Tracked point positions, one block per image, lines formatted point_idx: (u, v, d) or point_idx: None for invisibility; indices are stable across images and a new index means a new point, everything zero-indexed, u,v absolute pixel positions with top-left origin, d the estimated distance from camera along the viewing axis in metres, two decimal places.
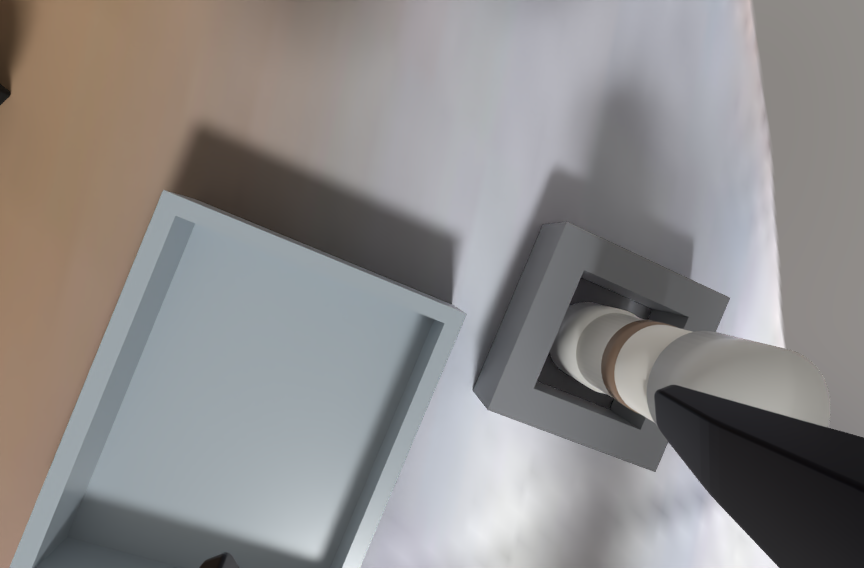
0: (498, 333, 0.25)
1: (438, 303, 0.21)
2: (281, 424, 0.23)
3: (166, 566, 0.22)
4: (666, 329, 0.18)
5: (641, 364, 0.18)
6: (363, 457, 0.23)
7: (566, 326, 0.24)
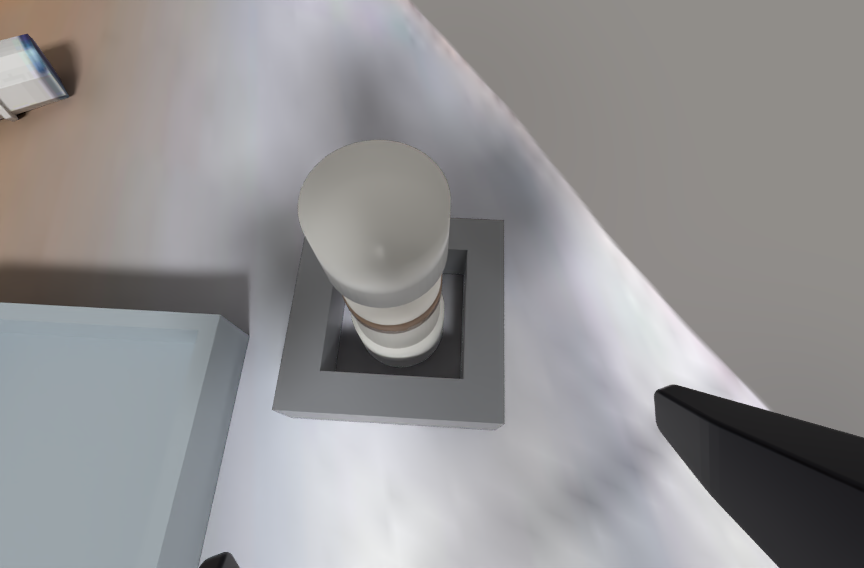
0: None
1: (190, 314, 0.21)
2: (63, 516, 0.20)
3: None
4: None
5: None
6: None
7: None
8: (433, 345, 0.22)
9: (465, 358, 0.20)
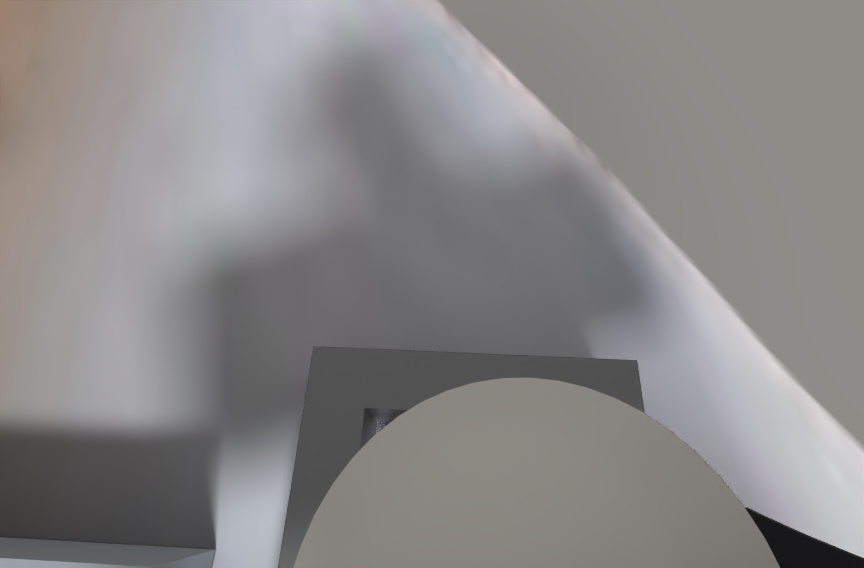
0: None
1: (98, 565, 0.11)
2: None
3: None
4: None
5: None
6: None
7: None
8: None
9: None
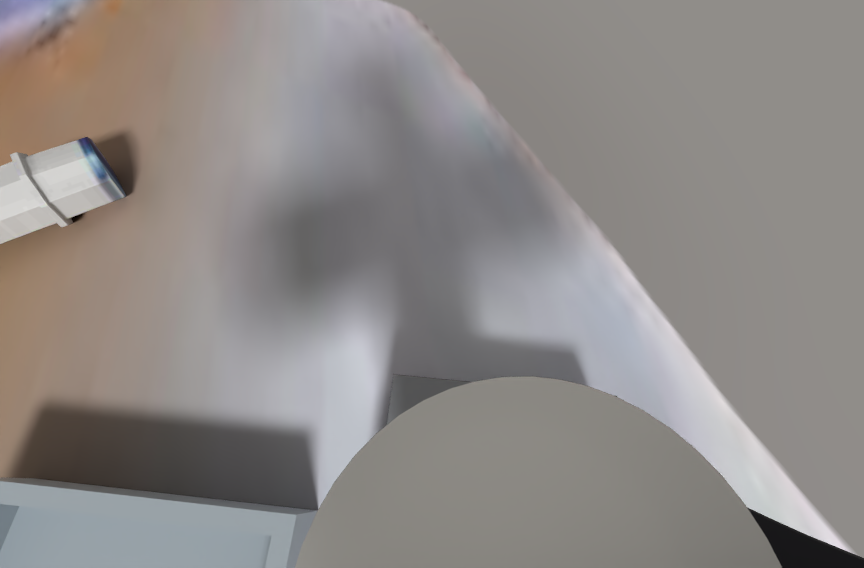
0: None
1: (261, 512, 0.18)
2: None
3: None
4: None
5: None
6: None
7: None
8: None
9: None
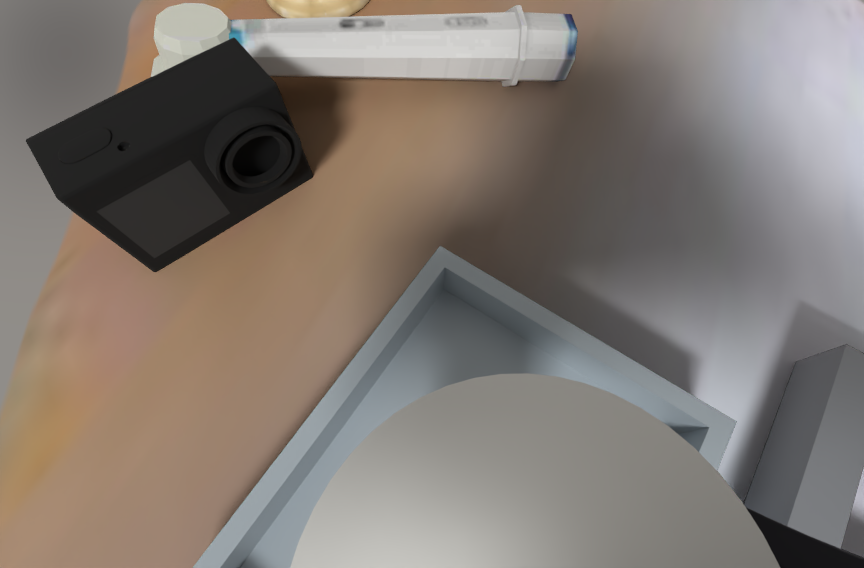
0: (755, 481, 0.20)
1: (700, 402, 0.18)
2: None
3: None
4: None
5: None
6: None
7: None
8: None
9: None
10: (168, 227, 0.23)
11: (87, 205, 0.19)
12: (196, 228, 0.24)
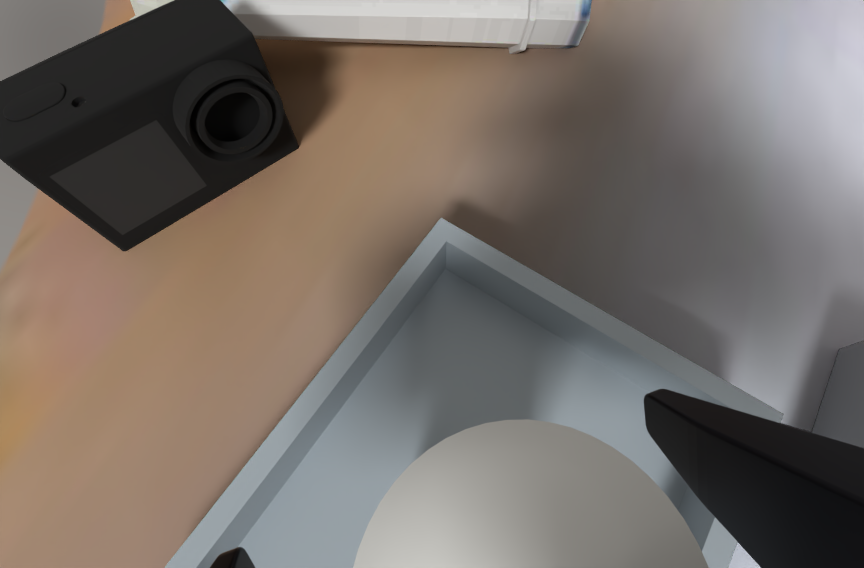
0: None
1: (740, 391, 0.16)
2: None
3: None
4: None
5: None
6: None
7: None
8: None
9: None
10: (136, 199, 0.21)
11: (37, 168, 0.17)
12: (169, 201, 0.22)
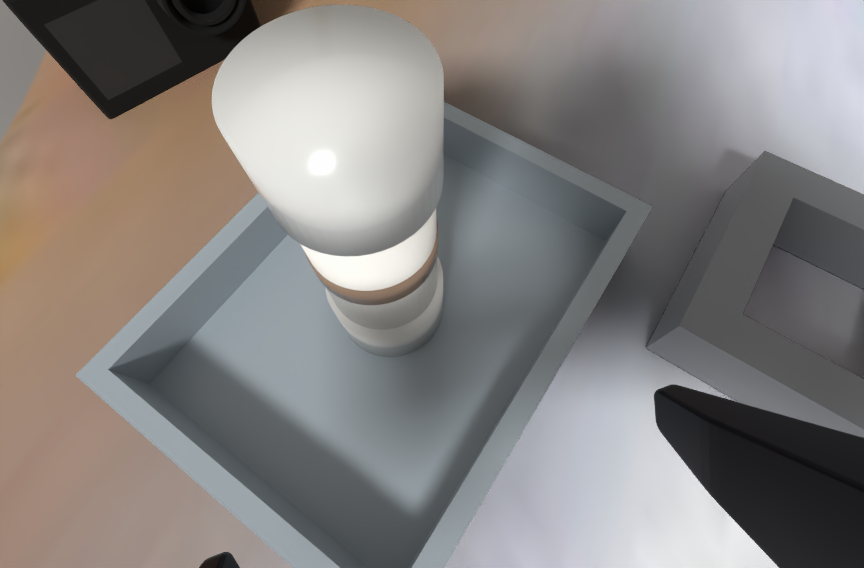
0: (679, 285, 0.21)
1: (620, 192, 0.19)
2: None
3: (231, 454, 0.17)
4: None
5: None
6: (501, 382, 0.18)
7: None
8: (431, 327, 0.18)
9: None
10: (119, 64, 0.24)
11: (33, 14, 0.20)
12: (148, 72, 0.25)
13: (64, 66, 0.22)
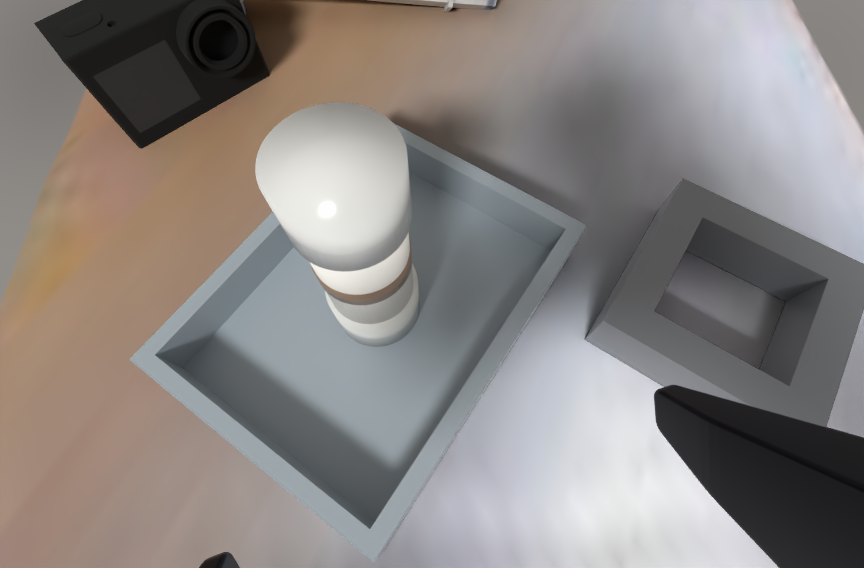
0: (614, 288, 0.25)
1: (561, 213, 0.24)
2: None
3: (249, 422, 0.22)
4: None
5: None
6: (465, 366, 0.23)
7: None
8: (408, 322, 0.22)
9: (797, 370, 0.20)
10: (150, 103, 0.28)
11: (85, 69, 0.25)
12: (173, 109, 0.30)
13: (106, 108, 0.27)
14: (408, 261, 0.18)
